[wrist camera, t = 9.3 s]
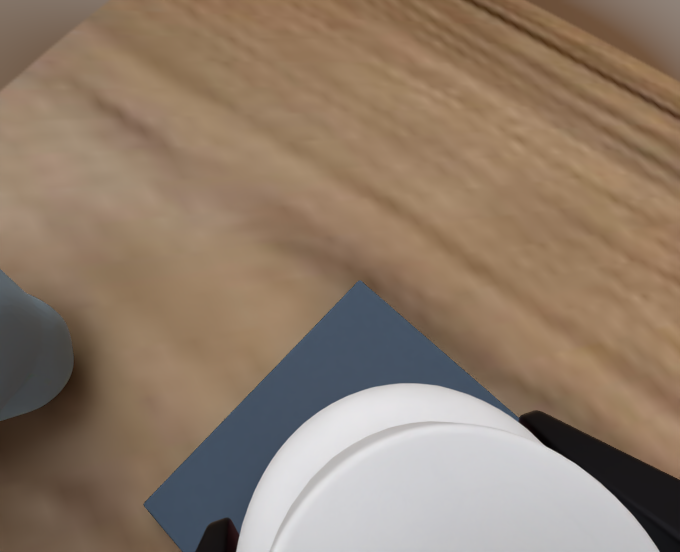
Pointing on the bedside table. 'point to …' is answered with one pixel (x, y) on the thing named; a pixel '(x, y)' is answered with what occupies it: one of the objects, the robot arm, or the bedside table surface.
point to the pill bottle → (429, 483)
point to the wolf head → (30, 351)
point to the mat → (300, 408)
